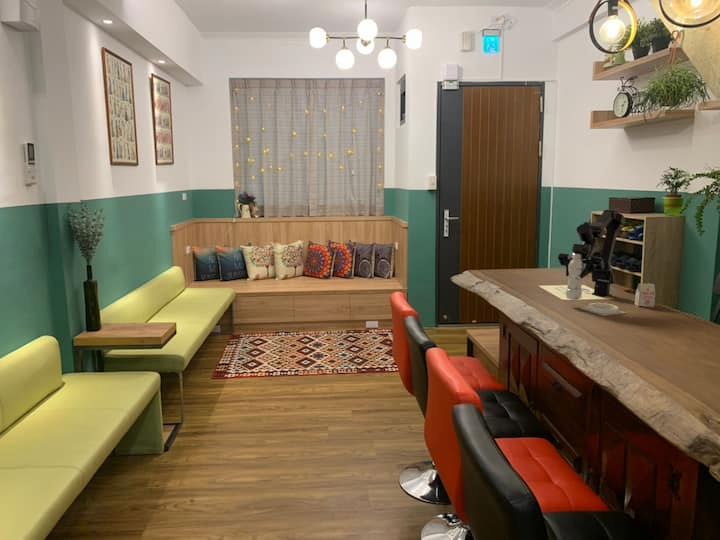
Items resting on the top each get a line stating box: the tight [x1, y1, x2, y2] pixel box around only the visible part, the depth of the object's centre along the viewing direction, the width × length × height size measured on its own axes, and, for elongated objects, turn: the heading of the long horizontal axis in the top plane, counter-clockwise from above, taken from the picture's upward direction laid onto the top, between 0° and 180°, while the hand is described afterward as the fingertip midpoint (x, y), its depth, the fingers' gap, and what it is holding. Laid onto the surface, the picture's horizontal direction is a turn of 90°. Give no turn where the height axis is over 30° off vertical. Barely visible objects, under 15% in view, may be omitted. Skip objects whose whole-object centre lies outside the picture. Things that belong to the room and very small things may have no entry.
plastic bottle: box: [565, 252, 585, 301], centre depth 246 cm, size 6×7×20 cm
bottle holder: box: [579, 302, 628, 317], centre depth 242 cm, size 13×13×2 cm
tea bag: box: [634, 283, 656, 308], centre depth 251 cm, size 4×7×10 cm, turn 89°
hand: (573, 276), depth 245 cm, fingers closed on plastic bottle, 6 cm apart
